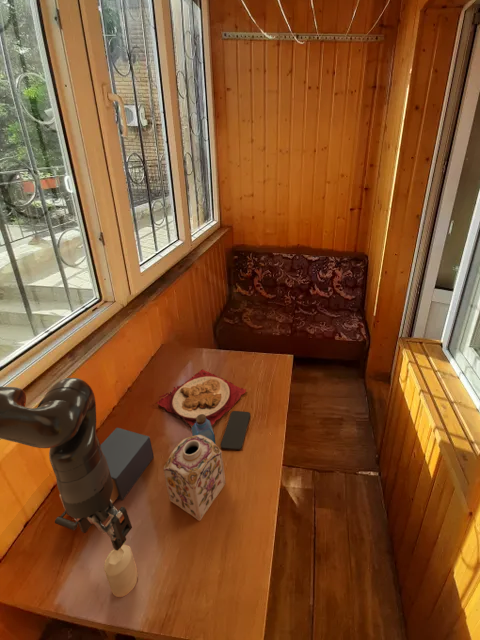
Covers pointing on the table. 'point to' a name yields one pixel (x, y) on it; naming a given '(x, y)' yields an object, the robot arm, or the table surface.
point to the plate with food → (202, 398)
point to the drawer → (73, 525)
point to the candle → (121, 571)
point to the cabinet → (126, 458)
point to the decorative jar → (194, 475)
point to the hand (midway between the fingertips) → (103, 535)
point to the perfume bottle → (203, 428)
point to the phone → (235, 430)
